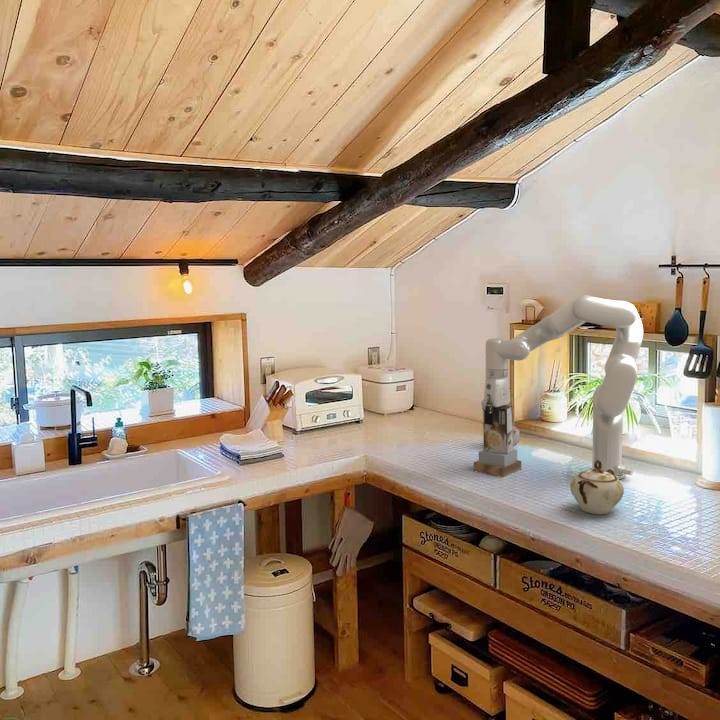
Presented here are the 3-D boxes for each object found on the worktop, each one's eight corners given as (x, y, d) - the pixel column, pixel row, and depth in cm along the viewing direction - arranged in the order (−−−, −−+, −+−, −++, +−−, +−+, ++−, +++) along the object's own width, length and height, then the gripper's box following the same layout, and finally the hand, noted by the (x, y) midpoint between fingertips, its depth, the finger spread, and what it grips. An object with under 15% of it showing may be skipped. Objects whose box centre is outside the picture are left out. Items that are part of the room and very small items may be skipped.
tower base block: (521, 471, 253) (521, 461, 252) (502, 479, 244) (502, 468, 244) (493, 466, 261) (493, 455, 261) (473, 473, 253) (473, 462, 252)
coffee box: (513, 450, 252) (513, 405, 250) (507, 454, 247) (507, 408, 245) (489, 447, 257) (488, 403, 255) (482, 451, 251) (482, 406, 249)
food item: (504, 442, 293) (504, 419, 292) (521, 445, 288) (521, 421, 287) (486, 449, 283) (486, 424, 282) (504, 452, 278) (504, 427, 277)
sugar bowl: (589, 496, 222) (589, 449, 220) (635, 506, 212) (637, 457, 210) (556, 512, 209) (557, 462, 207) (604, 524, 198) (605, 472, 196)
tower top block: (517, 460, 253) (517, 449, 252) (504, 467, 245) (504, 456, 245) (491, 456, 259) (491, 445, 259) (478, 462, 251) (478, 451, 251)
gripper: (491, 377, 239) (491, 427, 241) (519, 371, 252) (518, 419, 254) (473, 375, 244) (473, 424, 247) (500, 370, 257) (500, 416, 259)
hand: (496, 421), depth 250 cm, fingers open, 9 cm apart
